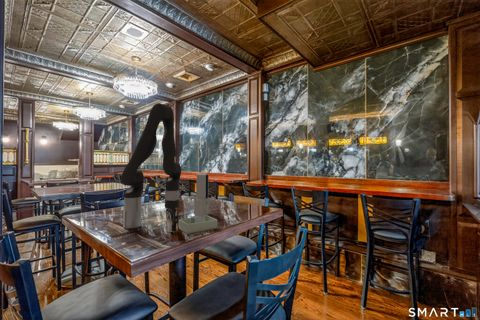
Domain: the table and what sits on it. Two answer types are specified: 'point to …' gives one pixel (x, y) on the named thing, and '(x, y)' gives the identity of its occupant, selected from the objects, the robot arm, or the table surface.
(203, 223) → the tote
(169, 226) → the jar
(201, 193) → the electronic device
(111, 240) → the table surface
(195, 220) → the block
